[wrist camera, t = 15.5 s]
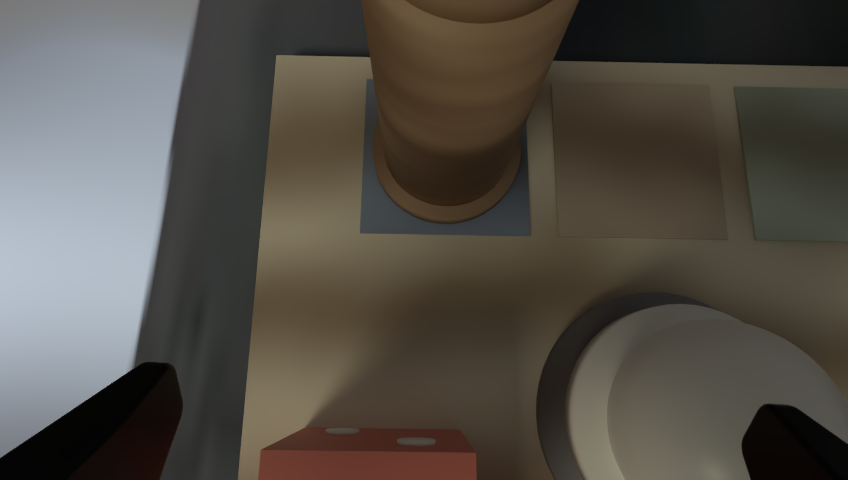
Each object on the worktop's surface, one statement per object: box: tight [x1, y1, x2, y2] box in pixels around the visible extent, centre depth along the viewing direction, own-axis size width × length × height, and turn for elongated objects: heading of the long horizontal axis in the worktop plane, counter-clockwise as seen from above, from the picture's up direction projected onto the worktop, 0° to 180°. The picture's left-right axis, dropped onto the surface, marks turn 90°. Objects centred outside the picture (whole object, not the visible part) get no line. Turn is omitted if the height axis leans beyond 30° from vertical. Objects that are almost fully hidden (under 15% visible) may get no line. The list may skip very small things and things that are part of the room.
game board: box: [238, 55, 848, 480], centre depth 18 cm, size 20×25×2 cm
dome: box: [565, 304, 848, 480], centre depth 14 cm, size 7×7×6 cm
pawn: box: [362, 0, 579, 224], centre depth 13 cm, size 5×5×12 cm
